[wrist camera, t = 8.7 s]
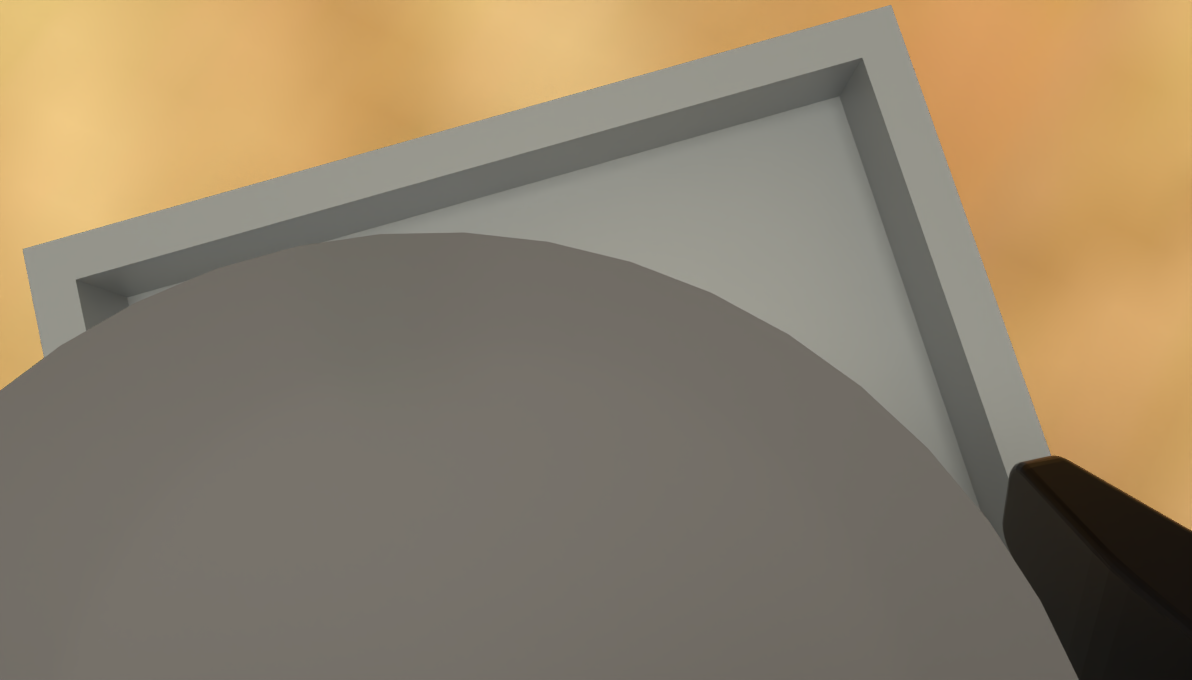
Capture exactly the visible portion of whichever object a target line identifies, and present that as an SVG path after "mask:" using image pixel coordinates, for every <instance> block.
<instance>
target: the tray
mask: <svg viewBox="0 0 1192 680" xmlns="http://www.w3.org/2000/svg"><path fill="white" fill-rule="evenodd" d="M460 232H465V233H474V234H483V235H492V236H501V237H510V238H519V239H528V240H537V241H547V242H551V243H556V244H560V245H564V246H568V247H572V248H576V249H580V250H584V251H589V252H593V253H597V254H601V255H605V256H609V257H613V258H617V259H621V260H626V261H630V262H633V263H635V264H638V265H641V266H643V267H646V268H648V269H651V270H654V271H656V272H659V273H661V274H664V275H667V276H669V277H672V278H674V279H677V280H680V281H682V282H685V283H687V284H690V285H693V286H695V287H698V288H700V289H703V290H706V291H708V292H711V293H713V294H715V295H717V296H718V297H720V298H722V299H724V300H726V301H728V302H730V303H731V304H733V305H735V306H737V307H739V308H741V309H743V310H744V311H746V312H748V313H750V314H752V315H754V316H755V317H757V318H759V319H761V320H763V321H765V322H767V323H768V324H770V325H772V326H774V327H776V328H778V329H780V330H781V331H783V332H785V333H787V334H789V335H790V336H792V337H793V338H794V339H796V340H797V341H799V342H800V343H801V344H803V345H804V346H806V347H807V348H808V349H810V350H811V351H813V352H814V353H815V354H817V355H818V356H819V357H821V358H822V359H824V360H825V361H826V362H828V363H829V364H831V365H832V366H833V367H835V368H836V369H838V370H839V371H840V372H842V373H843V374H845V375H846V376H847V377H849V378H850V379H852V380H853V381H854V382H856V383H857V384H859V385H860V386H861V387H862V388H863V389H865V390H866V391H867V392H868V393H869V394H870V395H871V396H872V397H873V398H874V399H875V400H876V401H878V402H879V403H880V404H881V405H882V406H883V407H884V408H885V409H886V410H887V411H888V412H889V413H890V414H892V415H893V416H894V417H895V418H896V419H897V420H898V421H899V422H900V423H901V424H902V425H903V426H904V427H906V428H907V429H908V430H909V431H910V432H911V433H912V434H913V435H914V436H915V437H916V438H917V439H918V440H920V441H921V442H922V443H923V444H924V445H925V446H926V447H927V448H928V449H929V450H930V451H931V452H932V454H933V455H934V456H935V457H936V458H937V460H938V461H939V462H940V463H941V464H942V466H943V467H944V468H945V469H946V470H947V472H948V473H949V474H950V475H951V476H952V477H953V479H954V480H955V481H956V482H957V483H958V485H959V486H960V487H961V488H962V489H963V491H964V492H965V493H966V494H967V495H968V497H969V498H970V499H971V500H972V501H973V502H974V504H975V505H976V506H977V507H978V508H979V510H980V511H981V512H982V513H983V514H984V516H985V517H986V518H987V519H988V520H989V522H990V523H991V525H992V527H993V528H994V530H995V531H996V533H997V534H998V536H999V537H1000V539H1001V540H1002V542H1003V544H1004V545H1005V547H1006V548H1007V550H1008V551H1009V549H1008V547H1007V545H1006V541H1005V538H1004V534H1003V527H1002V519H1003V513H1004V506H1005V499H1006V493H1007V486H1008V479H1009V474H1010V471H1011V469H1012V468H1013V466H1014V465H1015V464H1017V463H1019V462H1023V461H1028V460H1032V459H1037V458H1042V457H1046V456H1051V454H1050V451H1049V448H1048V446H1047V443H1046V440H1045V437H1044V434H1043V431H1042V429H1041V426H1040V423H1039V420H1038V417H1037V415H1036V412H1035V409H1034V406H1033V403H1032V400H1031V398H1030V395H1029V392H1028V389H1027V386H1026V384H1025V381H1024V378H1023V375H1022V372H1021V370H1020V367H1019V364H1018V361H1017V358H1016V355H1015V353H1014V350H1013V347H1012V344H1011V341H1010V339H1009V336H1008V333H1007V330H1006V327H1005V324H1004V322H1003V319H1002V316H1001V313H1000V310H999V308H998V305H997V302H996V299H995V296H994V293H993V291H992V288H991V285H990V282H989V279H988V277H987V274H986V271H985V268H984V265H983V262H982V260H981V257H980V254H979V251H978V248H977V246H976V243H975V240H974V237H973V234H972V232H971V229H970V226H969V223H968V220H967V217H966V215H965V212H964V209H963V206H962V203H961V201H960V198H959V195H958V192H957V189H956V186H955V184H954V181H953V178H952V175H951V172H950V170H949V167H948V164H947V161H946V158H945V155H944V153H943V150H942V147H941V144H940V141H939V139H938V136H937V133H936V130H935V127H934V125H933V122H932V119H931V116H930V113H929V110H928V108H927V105H926V102H925V99H924V96H923V94H922V91H921V88H920V85H919V82H918V79H917V77H916V74H915V71H914V68H913V65H912V63H911V60H910V57H909V54H908V51H907V48H906V46H905V43H904V40H903V37H902V34H901V32H900V29H899V26H898V23H897V20H896V18H895V15H894V12H893V9H892V6H891V5H889V6H886V7H882V8H879V9H875V10H871V11H868V12H864V13H861V14H857V15H854V16H850V17H847V18H843V19H839V20H836V21H832V22H829V23H825V24H822V25H818V26H815V27H811V28H807V29H804V30H800V31H797V32H793V33H790V34H786V35H783V36H779V37H775V38H772V39H768V40H765V41H761V42H758V43H754V44H751V45H747V46H743V47H740V48H736V49H733V50H729V51H726V52H722V53H719V54H715V55H711V56H708V57H704V58H701V59H697V60H694V61H690V62H686V63H683V64H679V65H676V66H672V67H669V68H665V69H662V70H658V71H654V72H651V73H647V74H644V75H640V76H637V77H633V78H630V79H626V80H622V81H619V82H615V83H612V84H608V85H605V86H601V87H598V88H594V89H590V90H587V91H583V92H580V93H576V94H573V95H569V96H566V97H562V98H558V99H555V100H551V101H548V102H544V103H541V104H537V105H534V106H530V107H526V108H523V109H519V110H516V111H512V112H509V113H505V114H502V115H498V116H494V117H491V118H487V119H484V120H480V121H477V122H473V123H470V124H466V125H462V126H459V127H455V128H452V129H448V130H445V131H441V132H438V133H434V134H430V135H427V136H423V137H420V138H416V139H413V140H409V141H406V142H402V143H398V144H395V145H391V146H388V147H384V148H381V149H377V150H374V151H370V152H366V153H363V154H359V155H356V156H352V157H349V158H345V159H342V160H338V161H334V162H331V163H327V164H324V165H320V166H317V167H313V168H310V169H306V170H302V171H299V172H295V173H292V174H288V175H285V176H281V177H278V178H274V179H270V180H267V181H263V182H260V183H256V184H253V185H249V186H245V187H242V188H238V189H235V190H231V191H228V192H224V193H221V194H217V195H213V196H210V197H206V198H203V199H199V200H196V201H192V202H189V203H185V204H181V205H178V206H174V207H171V208H167V209H164V210H160V211H157V212H153V213H149V214H146V215H142V216H139V217H135V218H132V219H128V220H125V221H121V222H117V223H114V224H110V225H107V226H103V227H100V228H96V229H93V230H89V231H85V232H82V233H78V234H75V235H71V236H68V237H64V238H61V239H57V240H53V241H50V242H46V243H43V244H39V245H36V246H32V247H29V248H25V249H23V254H24V259H25V264H26V269H27V274H28V279H29V284H30V289H31V294H32V299H33V304H34V309H35V314H36V319H37V324H38V329H39V334H40V339H41V344H42V349H43V354H44V357H46V356H47V355H48V354H50V353H51V352H52V351H54V350H55V349H56V348H58V347H59V346H61V345H62V344H64V343H66V342H68V341H69V340H71V339H73V338H75V337H76V336H78V335H80V334H81V333H83V332H85V331H87V330H88V329H90V328H92V327H94V326H95V325H97V324H99V323H101V322H102V321H104V320H106V319H108V318H109V317H111V316H113V315H115V314H116V313H118V312H120V311H121V310H123V309H125V308H127V307H128V306H130V305H132V304H134V303H135V302H138V301H140V300H143V299H145V298H147V297H150V296H152V295H154V294H157V293H159V292H162V291H164V290H166V289H169V288H171V287H173V286H176V285H178V284H181V283H183V282H185V281H188V280H190V279H192V278H195V277H197V276H200V275H202V274H204V273H207V272H209V271H211V270H214V269H217V268H221V267H224V266H228V265H231V264H235V263H239V262H242V261H246V260H249V259H253V258H256V257H260V256H264V255H267V254H271V253H274V252H278V251H281V250H285V249H288V248H292V247H296V246H302V245H309V244H316V243H322V242H329V241H336V240H343V239H349V238H356V237H363V236H370V235H376V234H408V233H460ZM1009 553H1010V552H1009Z"/></svg>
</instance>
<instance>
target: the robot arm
mask: <svg viewBox="0 0 1192 680" xmlns="http://www.w3.org/2000/svg"><path fill="white" fill-rule="evenodd" d="M1002 527H1003V534H1004V538H1005V541H1006V545H1007V547H1008V549H1009V552H1010V554H1011V556H1012V557H1013V559H1014V561H1015V562H1016V564H1017V565H1018V567H1019V568H1020V570H1021V571H1022V573H1023V574H1024V576H1025V578H1026V579H1027V581H1028V582H1029V584H1030V585H1031V587H1032V588H1033V590H1034V591H1035V593H1036V595H1037V596H1038V598H1039V599H1040V601H1041V603H1042V605H1043V607H1044V609H1045V611H1046V613H1047V615H1048V617H1049V619H1050V621H1051V623H1052V625H1053V627H1054V630H1055V632H1056V634H1057V636H1058V638H1059V640H1060V642H1061V644H1062V646H1063V648H1064V650H1065V652H1066V654H1067V656H1068V658H1069V660H1070V662H1071V665H1072V667H1073V669H1074V671H1075V673H1076V675H1077V677H1078V679H1079V680H1192V531H1191V530H1189V529H1187V528H1186V527H1184V526H1182V525H1180V524H1179V523H1177V522H1175V521H1174V520H1172V519H1170V518H1168V517H1167V516H1165V515H1163V514H1161V513H1160V512H1158V511H1156V510H1154V509H1153V508H1151V507H1149V506H1147V505H1146V504H1144V503H1142V502H1140V501H1139V500H1137V499H1135V498H1133V497H1132V496H1130V495H1128V494H1127V493H1125V492H1123V491H1121V490H1120V489H1118V488H1116V487H1114V486H1113V485H1111V484H1109V483H1107V482H1106V481H1104V480H1102V479H1100V478H1099V477H1097V476H1095V475H1093V474H1092V473H1090V472H1088V471H1086V470H1085V469H1083V468H1081V467H1080V466H1078V465H1076V464H1074V463H1073V462H1071V461H1069V460H1067V459H1065V458H1062V457H1059V456H1046V457H1042V458H1037V459H1032V460H1028V461H1023V462H1019V463H1017V464H1015V465H1014V466H1013V468H1012V469H1011V471H1010V474H1009V479H1008V486H1007V493H1006V499H1005V506H1004V513H1003V519H1002Z"/></svg>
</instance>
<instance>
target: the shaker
mask: <svg viewBox="0 0 1192 680" xmlns="http://www.w3.org/2000/svg"><path fill="white" fill-rule="evenodd" d="M0 680H1079V679H1078V677H1077V675H1076V673H1075V671H1074V669H1073V667H1072V665H1071V662H1070V660H1069V658H1068V656H1067V654H1066V652H1065V650H1064V648H1063V646H1062V644H1061V642H1060V640H1059V638H1058V636H1057V634H1056V632H1055V630H1054V627H1053V625H1052V623H1051V621H1050V619H1049V617H1048V615H1047V613H1046V611H1045V609H1044V607H1043V605H1042V603H1041V601H1040V599H1039V598H1038V596H1037V595H1036V593H1035V591H1034V590H1033V588H1032V587H1031V585H1030V584H1029V582H1028V581H1027V579H1026V578H1025V576H1024V574H1023V573H1022V571H1021V570H1020V568H1019V567H1018V565H1017V564H1016V562H1015V561H1014V559H1013V557H1012V556H1011V554H1010V553H1009V551H1008V550H1007V548H1006V547H1005V545H1004V544H1003V542H1002V540H1001V539H1000V537H999V536H998V534H997V533H996V531H995V530H994V528H993V527H992V525H991V523H990V522H989V520H988V519H987V518H986V517H985V516H984V514H983V513H982V512H981V511H980V510H979V508H978V507H977V506H976V505H975V504H974V502H973V501H972V500H971V499H970V498H969V497H968V495H967V494H966V493H965V492H964V491H963V489H962V488H961V487H960V486H959V485H958V483H957V482H956V481H955V480H954V479H953V477H952V476H951V475H950V474H949V473H948V472H947V470H946V469H945V468H944V467H943V466H942V464H941V463H940V462H939V461H938V460H937V458H936V457H935V456H934V455H933V454H932V452H931V451H930V450H929V449H928V448H927V447H926V446H925V445H924V444H923V443H922V442H921V441H920V440H918V439H917V438H916V437H915V436H914V435H913V434H912V433H911V432H910V431H909V430H908V429H907V428H906V427H904V426H903V425H902V424H901V423H900V422H899V421H898V420H897V419H896V418H895V417H894V416H893V415H892V414H890V413H889V412H888V411H887V410H886V409H885V408H884V407H883V406H882V405H881V404H880V403H879V402H878V401H876V400H875V399H874V398H873V397H872V396H871V395H870V394H869V393H868V392H867V391H866V390H865V389H863V388H862V387H861V386H860V385H859V384H857V383H856V382H854V381H853V380H852V379H850V378H849V377H847V376H846V375H845V374H843V373H842V372H840V371H839V370H838V369H836V368H835V367H833V366H832V365H831V364H829V363H828V362H826V361H825V360H824V359H822V358H821V357H819V356H818V355H817V354H815V353H814V352H813V351H811V350H810V349H808V348H807V347H806V346H804V345H803V344H801V343H800V342H799V341H797V340H796V339H794V338H793V337H792V336H790V335H789V334H787V333H785V332H783V331H781V330H780V329H778V328H776V327H774V326H772V325H770V324H768V323H767V322H765V321H763V320H761V319H759V318H757V317H755V316H754V315H752V314H750V313H748V312H746V311H744V310H743V309H741V308H739V307H737V306H735V305H733V304H731V303H730V302H728V301H726V300H724V299H722V298H720V297H718V296H717V295H715V294H713V293H711V292H708V291H706V290H703V289H700V288H698V287H695V286H693V285H690V284H687V283H685V282H682V281H680V280H677V279H674V278H672V277H669V276H667V275H664V274H661V273H659V272H656V271H654V270H651V269H648V268H646V267H643V266H641V265H638V264H635V263H633V262H630V261H626V260H621V259H617V258H613V257H609V256H605V255H601V254H597V253H593V252H589V251H584V250H580V249H576V248H572V247H568V246H564V245H560V244H556V243H551V242H547V241H537V240H528V239H519V238H510V237H501V236H492V235H483V234H474V233H465V232H460V233H408V234H376V235H370V236H363V237H356V238H349V239H343V240H336V241H329V242H322V243H316V244H309V245H302V246H296V247H292V248H288V249H285V250H281V251H278V252H274V253H271V254H267V255H264V256H260V257H256V258H253V259H249V260H246V261H242V262H239V263H235V264H231V265H228V266H224V267H221V268H217V269H214V270H211V271H209V272H207V273H204V274H202V275H200V276H197V277H195V278H192V279H190V280H188V281H185V282H183V283H181V284H178V285H176V286H173V287H171V288H169V289H166V290H164V291H162V292H159V293H157V294H154V295H152V296H150V297H147V298H145V299H143V300H140V301H138V302H135V303H134V304H132V305H130V306H128V307H127V308H125V309H123V310H121V311H120V312H118V313H116V314H115V315H113V316H111V317H109V318H108V319H106V320H104V321H102V322H101V323H99V324H97V325H95V326H94V327H92V328H90V329H88V330H87V331H85V332H83V333H81V334H80V335H78V336H76V337H75V338H73V339H71V340H69V341H68V342H66V343H64V344H62V345H61V346H59V347H58V348H56V349H55V350H54V351H52V352H51V353H50V354H48V355H47V356H46V357H44V358H43V359H42V360H40V361H39V362H38V363H36V364H35V365H34V366H32V367H31V368H30V369H28V370H27V371H26V372H24V373H23V374H22V375H20V376H19V377H18V378H16V379H15V380H14V381H12V382H11V383H10V384H8V385H7V386H6V387H4V388H3V389H2V390H0Z"/></svg>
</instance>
